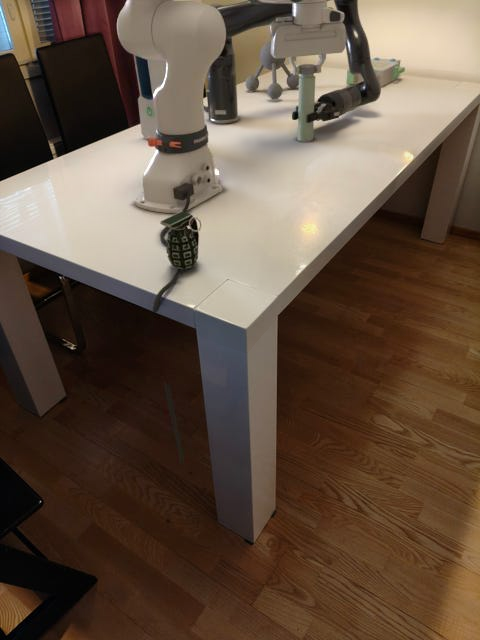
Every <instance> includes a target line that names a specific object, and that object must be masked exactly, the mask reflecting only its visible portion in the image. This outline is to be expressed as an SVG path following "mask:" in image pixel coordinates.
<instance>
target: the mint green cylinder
mask: <svg viewBox="0 0 480 640" xmlns="http://www.w3.org/2000/svg"><path fill="white" fill-rule="evenodd" d="M315 95H316V76H315V73H314V74H307V75H305V74H300V75H299V86H298V104H297V106H298V119H297V141H299V142H303V143H305V142H306V143H307V142H311V141H313V139H314V122H315V121H313V122H310V123H307V122H306V116H307V115H308V114H310V113H313V112H314V102H315Z"/></svg>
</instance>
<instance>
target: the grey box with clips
mask: <svg viewBox="0 0 480 640" xmlns="http://www.w3.org/2000/svg"><path fill="white" fill-rule="evenodd" d="M371 63H372V66H373V68H374V71H375V74H376V76H377V78H378V80H379V83H380V86H381V88H382V87H384V86H386V85H388V84H389V83H391V82H393V81H394V80H395V81H397V80H398V76H399V75H401V74H402V73H404V72H405V70H406V67H404V66H401V59H396V58H391V59H390V58H379V57H374V58H371ZM362 81H364V80H363V77H362V76H361V75H352V74H351V73H350V70H349V69H347V72H346V84H348V85H354V84H357V83H360V82H362Z"/></svg>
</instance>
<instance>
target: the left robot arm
mask: <svg viewBox="0 0 480 640" xmlns="http://www.w3.org/2000/svg"><path fill="white" fill-rule="evenodd" d="M249 1H250V2H251V3H253V4H267V3H277V4H283V3H287V4H292V16H290V17H284V18H281V17H279V18H276V20H274V21H273V22H272V23H271V24H270V37H271V36H272V40H271V39H270V41H271V55H272V56H273V57H274V58H286V59H287V58H288V62H289V63H290V65H291V67H292V73H293V75H299V76H300V75H301V74H300V72H299V71H300V68H299V67H298V66H297V65H296V63H295V62H297V58H299V57H309V56H310V57H311V56H318V59H319V60H318V62H317V64H315V65H316V73H315V74H321V73H322V66H323V65H324V63H325V61H326V59H327V55H331V54H342V53H343V52H344V51H345V50H346V29H345V25H344V24H343V23H342V21H343V20H344V13H343V12H341V11H338V10H337V9H336V8H335V9H334V8H333V7H330V6H328V1H327V0H249ZM209 5H210V4H207V3H203V2H200V1H196V0H126V2H125V4H124V6H123V7H122V9H121V10H120V12H119V14H118V17H117V22H116V32H117V37H118V40H119V42H120V45H121V46H122V48H123V49H124V50H125V52H127V53H129V54H131V55H133V56H134V55H136V56H138V57H141V58H143V59H147V60H157V61H166V77H165V80H164V82H163V83H162V84H160V85H159V86H158V87H157V88H156V90H155V92H154V95H153V101H154V108H155V114H156V121H157V128H158V129H157V130H156V138H152V137H150V138H149V139H147V146H149V147H151V148H152V147H154V148H155V151H154V153H153V155H152V157H151V159H150V162H149V163H148V165H147V167H146V169H145V172H144V173H143V176H142V192H140V193H139V195H138V196H137V197H135V199H134V205H135V206H137V207H138V208H140V209H142V210H143V209H144V210H147V211H151V212H157V213H164V214H177V213H179V212H181V211H184V212H187V211H189V210H190V209H193V208H194V207H196V206H198V205H199V204H201V203H203V202H205V201H207V200H208V199H210V198H212V197H214V196H215V195H217V194H219V193H220V192H222V191H223V185H222V184H220V183H219V180H218V176H219V175H220V172H219V170H218V169H217V168H216V163H215V156H214V155H213V153H212V152H211V149H210V147H209V145H208V143H209V130H208V126H207V124H206V120H205V119H206V118H205V109H204V106H205V105H204V104H205V103H204V89H205V83H206V79H207V72H208V70H209V68H210V66H211V64H212V63H213V62H214V61H215V60H216V59H217V58H218V57H219V55H220V54H221V52H222V50H223V48H224V45H225V41H226V28H225V23H224V20H223V18H222V16H221V14H220V12H219V11H218V10H217V9H216V8H214V7H212V6H209ZM274 22H277V23H274ZM169 230H171V227H170V228H169V227H166V226H164V228H163V229H161V232H160V234H159V237H160V241H161V242H162V243H163V244H164V245H165V246H167V238H165V234H166V233H168V231H169ZM183 271H184V270H183V269H180V268H177V270H176V271H175V273H174V274H173V276H172V278H171V279H170V280H169V281H168V283H166V284H165V285H164V286H163V287H161V289H160V290H159V291H158V293H156V296H155V298H154V302H153V307H152V313H157V312H158V311H159V307H160V306H159V305H160V302H161V299H162V297H163V295H164V294H165V293H166V292H167V291H168V290H169V289H170V288H172V286H173V285H174V284H175V283H176V281H177V280H178V278H179V276H180V275H181V273H182V272H183ZM163 384H164V389H165V394H166V399H167V404H168V410H169V414H170V417H171V423H172V428H173V432H174V437H175V442H176V445H177V446H176V447H177V451H178V456H179V462H180V464H181V465H184V464H185V459H184V453H183V448H182V447H183V446H182V442H181V438H180V432H179V429H178V428H179V427H178V422H177V417H176V413H175V408H174V403H173V398H172V392H171V387H170V384H168V383H167V382H165V381H163Z"/></svg>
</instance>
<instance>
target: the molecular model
mask: <svg viewBox="0 0 480 640" xmlns="http://www.w3.org/2000/svg"><path fill="white" fill-rule="evenodd" d="M271 40H272V36H271V35H270V40H269V41H267V42H266V43H264V44H263V45H262V47H261V49H260V52H259V60H260V65H259V67H258V68H257V71H256V72H255V74H254V75H250V76H248V77H247V78H246V79H245V87H246V89H247V90H248V91H250V92H254V91H257V90H258V89H259V87H260V79H259V76H260V74H261V73H262V71H263V69H264V68H265V69H266V70H269V71H271V77H272V83H271V84H269V86H267V95H268V97H269V98H270V99H272V100H278V99H279V98H280V97H281V96H282V94H283V87H282V85H281V84H280V83H278V81H277V79H278V78H277V70H278V69H280V68H282V71H284V73H285V74H286V75H287V77H286V85H287V87H288V88H290V89H296V88H299V77H300V74H299V75H293V72H291V71H290V70H289V68H288V67H287V66H286V64H285V63H286V62H285V61H286V59H287V58H274V57H273V56H272V55H271Z"/></svg>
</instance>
